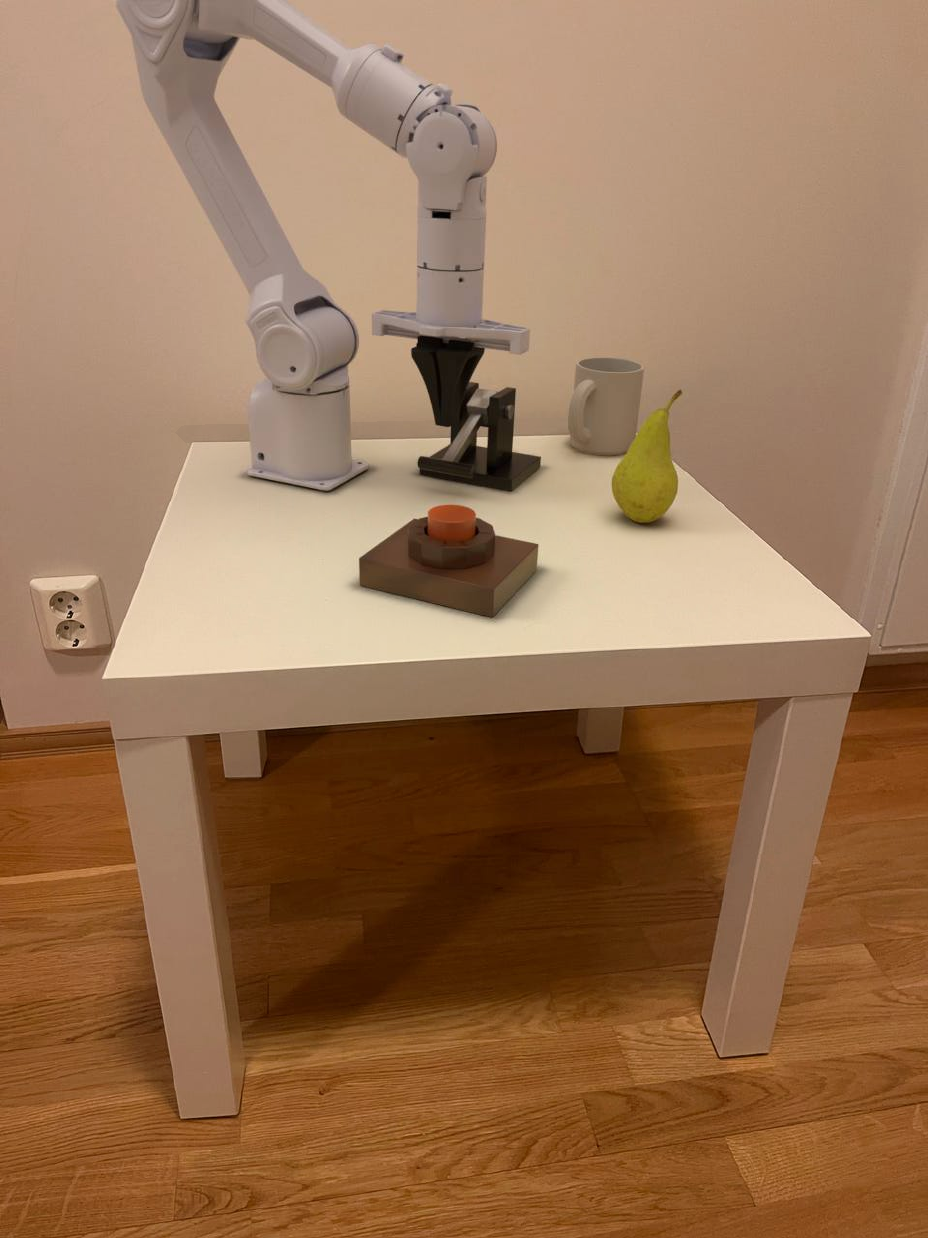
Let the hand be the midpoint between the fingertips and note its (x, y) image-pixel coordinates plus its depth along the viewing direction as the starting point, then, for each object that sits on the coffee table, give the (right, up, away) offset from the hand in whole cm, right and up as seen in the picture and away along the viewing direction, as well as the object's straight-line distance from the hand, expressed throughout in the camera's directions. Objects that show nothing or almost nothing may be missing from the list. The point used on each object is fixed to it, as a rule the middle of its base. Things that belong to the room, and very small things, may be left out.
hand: (446, 423), depth 84 cm
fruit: (+18, -9, -1) cm, 20 cm away
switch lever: (+2, -1, +4) cm, 5 cm away
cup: (+16, +1, +17) cm, 23 cm away
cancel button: (+1, -12, -15) cm, 19 cm away
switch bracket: (+3, -3, +9) cm, 10 cm away
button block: (+1, -15, -13) cm, 20 cm away
